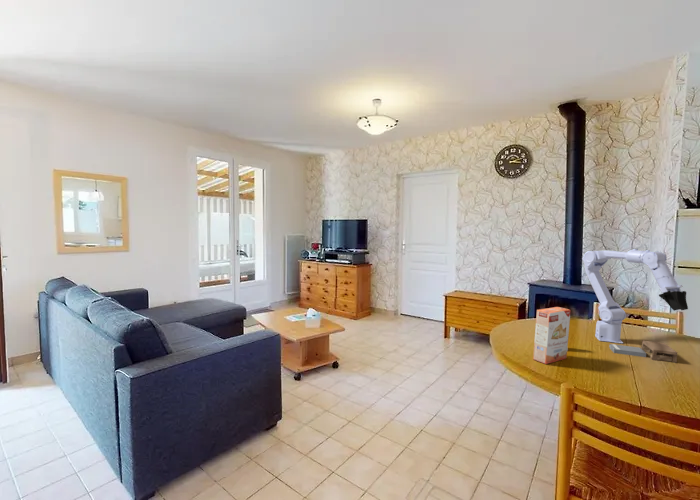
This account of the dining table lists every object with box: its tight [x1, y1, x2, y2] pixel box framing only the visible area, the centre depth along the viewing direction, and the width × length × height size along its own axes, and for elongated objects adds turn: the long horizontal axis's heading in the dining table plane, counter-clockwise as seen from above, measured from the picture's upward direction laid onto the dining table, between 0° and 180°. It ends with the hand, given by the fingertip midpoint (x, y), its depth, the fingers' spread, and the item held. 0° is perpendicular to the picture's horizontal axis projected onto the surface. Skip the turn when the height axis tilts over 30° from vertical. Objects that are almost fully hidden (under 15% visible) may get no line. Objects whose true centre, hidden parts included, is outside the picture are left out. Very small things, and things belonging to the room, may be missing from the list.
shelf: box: [640, 340, 678, 364], centre depth 145 cm, size 8×12×4 cm, turn 157°
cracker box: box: [532, 306, 572, 365], centre depth 140 cm, size 14×6×21 cm, turn 117°
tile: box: [608, 343, 647, 358], centre depth 150 cm, size 11×7×2 cm, turn 67°
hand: (681, 309), depth 139 cm, fingers open, 7 cm apart
